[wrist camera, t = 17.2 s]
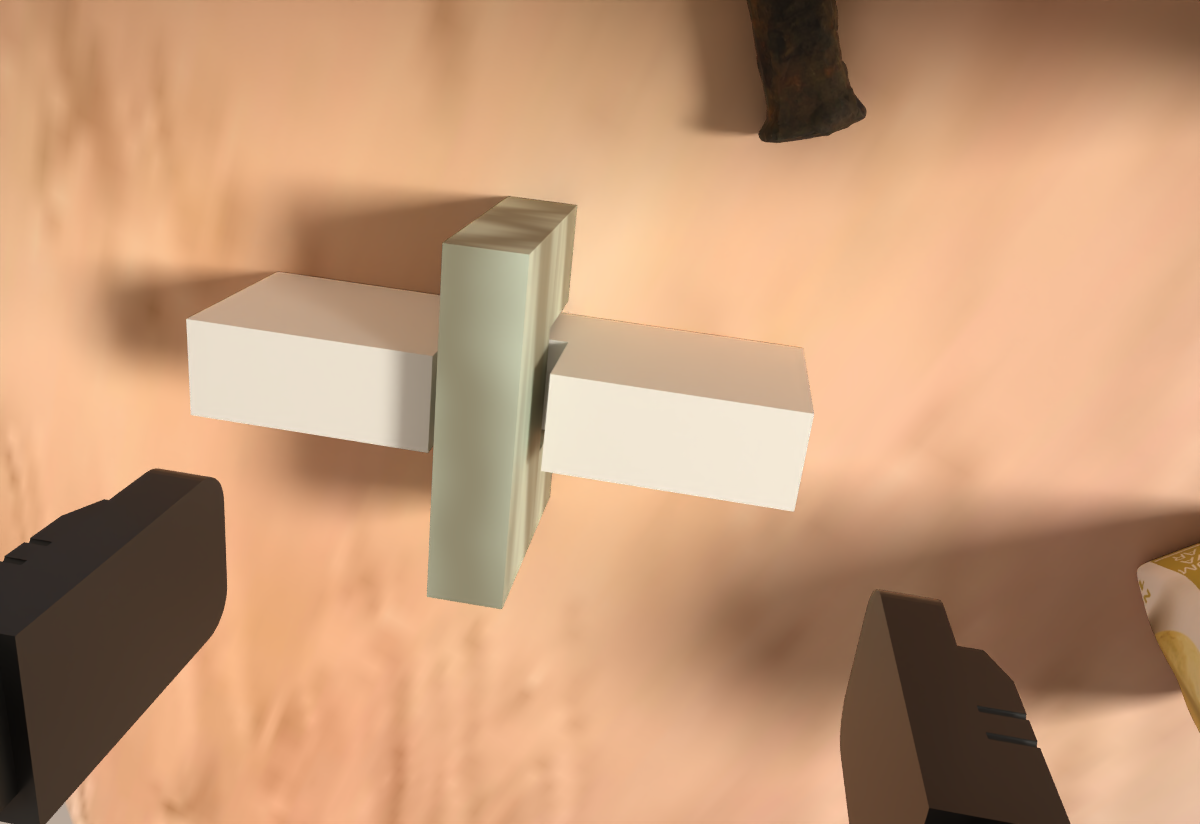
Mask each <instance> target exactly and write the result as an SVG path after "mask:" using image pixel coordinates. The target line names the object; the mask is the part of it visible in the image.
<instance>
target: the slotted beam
mask: <svg viewBox="0 0 1200 824" xmlns="http://www.w3.org/2000/svg"><path fill="white" fill-rule="evenodd" d="M439 311H440V295H435V294H428V293H422V292H415V291H408V290H401V289H394V288H387V287H380V286H373V285H367V284H360V283H353V282H346V281H339V280H332V279H325V278H318V277H311V276H305V275H298V274H291V273H284V272H276V273H274V274H272V275H270V276H268V277H266V278H264V279H262V280H260V281H258V282H257V283H255V284H253V285H251V286H249V287H247V288H245V289H243V290H241V291H239V292H237V293H235V294H233V295H231V296H230V297H228V298H226V299H224V300H222V301H220V302H218V303H216V304H214V305H212V306H210V307H208V308H206V309H204V310H203V311H201V312H199V313H197V314H195V315H193V316H191V317H189V318H187V319H186V324H187V344H188V365H189V385H190V405H191V415H195V416H201V417H207V418H213V419H220V420H226V421H232V422H238V423H244V424H251V425H257V426H263V427H269V428H276V429H282V430H288V431H294V432H301V433H307V434H313V435H319V436H326V437H332V438H338V439H344V440H351V441H357V442H363V443H369V444H376V445H382V446H388V447H394V448H400V449H407V450H413V451H419V452H425V453H428V452H429V451H430V450H431V448H432V447H433V446H434V425H435V402H436V379H437V357H438V334H439ZM813 417H814V410H813V404H812V398H811V392H810V386H809V380H808V374H807V368H806V362H805V356H804V350H803V348H800V347H793V346H786V345H779V344H772V343H765V342H758V341H752V340H745V339H738V338H731V337H724V336H717V335H710V334H703V333H697V332H690V331H683V330H676V329H669V328H662V327H655V326H648V325H642V324H635V323H628V322H621V321H614V320H607V319H600V318H593V317H587V316H580V315H573V314H566V313H560V314H559V316H558V317H557V319H556V320H555V322H554V323H553V325H552V326H551V328H550V337H549V348H548V360H547V371H546V382H545V394H544V405H543V416H542V428H541V429H543V430H545V434H544V444H543V455H542V465H541V471H544V472H550V473H556V474H563V475H569V476H575V477H581V478H588V479H594V480H600V481H606V482H613V483H619V484H625V485H631V486H638V487H644V488H650V489H656V490H663V491H669V492H675V493H681V494H688V495H694V496H700V497H706V498H712V499H719V500H725V501H731V502H737V503H744V504H750V505H756V506H762V507H769V508H775V509H781V510H787V511H794V510H795V505H796V500H797V495H798V490H799V485H800V480H801V476H802V471H803V466H804V461H805V456H806V451H807V446H808V441H809V436H810V431H811V427H812V422H813Z"/></svg>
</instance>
